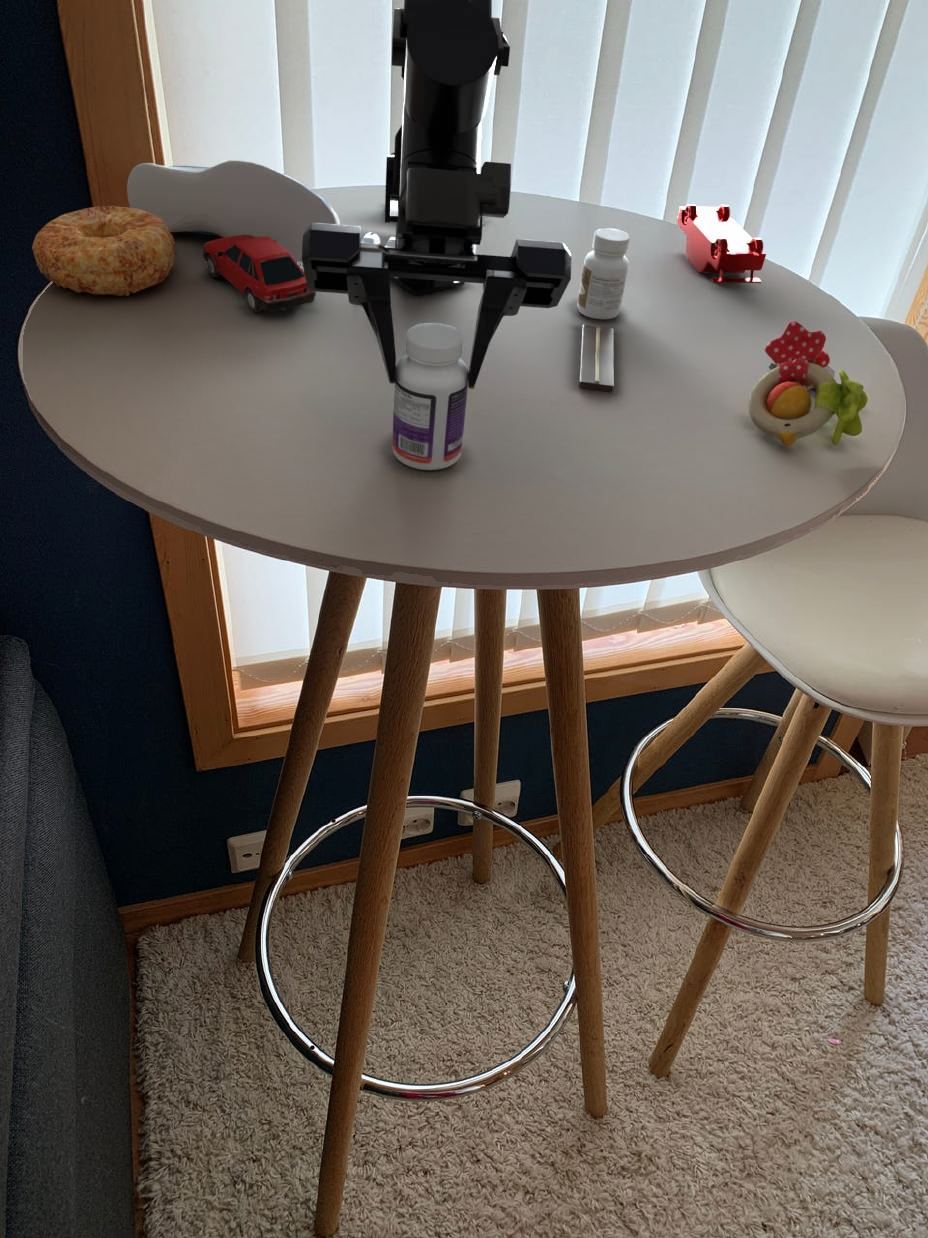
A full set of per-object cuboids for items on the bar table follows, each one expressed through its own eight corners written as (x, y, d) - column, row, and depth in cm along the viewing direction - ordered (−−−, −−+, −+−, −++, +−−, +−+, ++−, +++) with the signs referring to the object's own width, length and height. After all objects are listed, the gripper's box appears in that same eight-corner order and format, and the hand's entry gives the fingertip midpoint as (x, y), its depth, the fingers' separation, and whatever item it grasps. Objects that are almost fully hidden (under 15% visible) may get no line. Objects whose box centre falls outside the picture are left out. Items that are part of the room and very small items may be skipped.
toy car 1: (254, 254, 97) (249, 205, 93) (324, 311, 89) (323, 260, 86) (196, 266, 94) (189, 216, 90) (264, 327, 86) (259, 274, 83)
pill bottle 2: (579, 299, 97) (592, 222, 92) (621, 306, 97) (636, 230, 91) (573, 315, 94) (586, 237, 89) (616, 323, 93) (632, 245, 88)
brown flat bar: (581, 329, 92) (583, 323, 91) (612, 334, 91) (613, 327, 91) (578, 387, 83) (580, 380, 82) (612, 392, 82) (614, 385, 82)
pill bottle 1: (446, 430, 75) (457, 314, 68) (471, 467, 71) (484, 348, 65) (382, 438, 73) (386, 320, 67) (403, 476, 69) (410, 355, 63)
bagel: (180, 241, 85) (191, 294, 88) (158, 192, 94) (169, 242, 98) (31, 263, 82) (48, 317, 85) (24, 210, 91) (40, 261, 94)
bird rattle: (798, 447, 74) (895, 379, 73) (712, 357, 78) (803, 292, 78) (796, 482, 79) (886, 419, 79) (716, 396, 84) (800, 336, 83)
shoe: (330, 176, 90) (378, 168, 100) (120, 139, 95) (186, 134, 105) (326, 274, 95) (372, 257, 105) (126, 234, 99) (189, 221, 109)
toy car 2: (723, 245, 99) (711, 290, 102) (772, 246, 100) (758, 290, 103) (680, 197, 109) (670, 240, 112) (724, 198, 110) (713, 240, 113)
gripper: (300, 92, 59) (289, 337, 58) (592, 118, 60) (584, 357, 60) (312, 182, 70) (303, 388, 69) (559, 202, 71) (552, 404, 71)
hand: (431, 384), depth 67 cm, fingers closed on pill bottle 1, 5 cm apart
